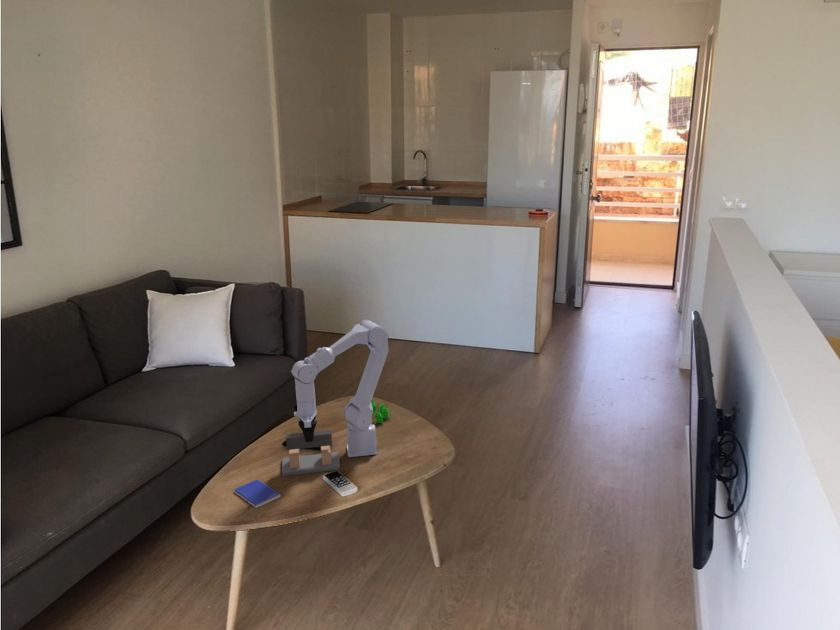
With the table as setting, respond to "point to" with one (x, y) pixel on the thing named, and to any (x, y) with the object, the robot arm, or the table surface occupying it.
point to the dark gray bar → (318, 440)
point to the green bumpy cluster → (383, 412)
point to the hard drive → (257, 493)
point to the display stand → (310, 462)
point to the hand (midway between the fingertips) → (309, 438)
